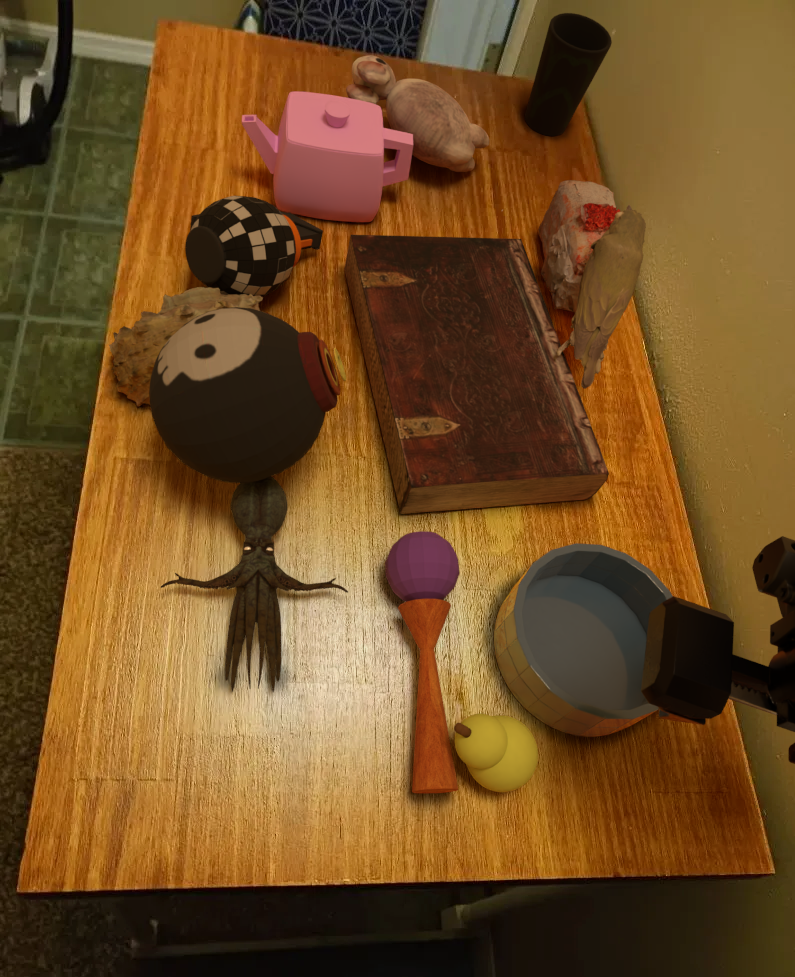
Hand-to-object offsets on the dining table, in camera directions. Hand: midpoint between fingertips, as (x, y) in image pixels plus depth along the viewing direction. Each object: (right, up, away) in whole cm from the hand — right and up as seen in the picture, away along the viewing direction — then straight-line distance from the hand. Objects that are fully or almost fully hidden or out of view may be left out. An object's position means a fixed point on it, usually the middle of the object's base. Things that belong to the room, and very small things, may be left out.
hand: (726, 733), depth 54 cm
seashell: (-41, +27, +21) cm, 54 cm away
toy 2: (-13, +57, +43) cm, 73 cm away
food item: (-3, +40, +37) cm, 54 cm away
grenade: (-40, +38, +20) cm, 58 cm away
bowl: (-7, +3, +14) cm, 16 cm away
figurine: (-33, +8, +11) cm, 36 cm away
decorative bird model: (-3, +35, +27) cm, 44 cm away
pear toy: (-13, -5, +8) cm, 15 cm away
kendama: (-20, +2, +11) cm, 23 cm away
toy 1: (-41, +21, +10) cm, 47 cm away
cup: (-3, +64, +52) cm, 82 cm away
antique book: (-16, +27, +27) cm, 41 cm away
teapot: (-30, +49, +36) cm, 68 cm away
